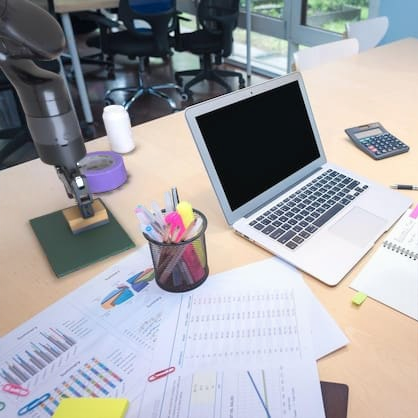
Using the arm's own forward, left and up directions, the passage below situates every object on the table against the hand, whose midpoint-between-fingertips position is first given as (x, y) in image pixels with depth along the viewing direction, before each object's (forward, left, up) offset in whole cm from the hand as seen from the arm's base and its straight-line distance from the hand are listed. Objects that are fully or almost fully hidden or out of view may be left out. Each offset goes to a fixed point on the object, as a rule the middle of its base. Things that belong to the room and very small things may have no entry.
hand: (81, 207), depth 79 cm
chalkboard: (-2, -2, -5) cm, 6 cm away
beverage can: (+18, +28, -5) cm, 34 cm away
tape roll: (+8, +16, -5) cm, 19 cm away
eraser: (0, 0, -4) cm, 4 cm away
